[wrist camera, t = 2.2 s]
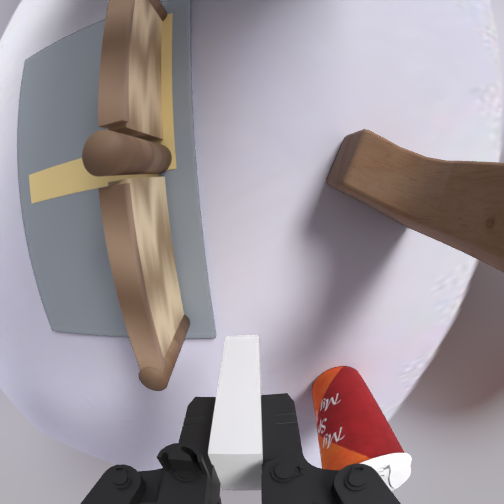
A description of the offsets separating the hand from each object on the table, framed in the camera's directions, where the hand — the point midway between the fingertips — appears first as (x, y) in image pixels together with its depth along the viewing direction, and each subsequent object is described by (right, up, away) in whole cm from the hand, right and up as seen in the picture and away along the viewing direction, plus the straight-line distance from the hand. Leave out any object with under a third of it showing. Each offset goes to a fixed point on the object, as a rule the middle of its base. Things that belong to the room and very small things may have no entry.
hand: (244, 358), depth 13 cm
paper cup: (+10, -9, +14) cm, 20 cm away
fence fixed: (-8, +19, +6) cm, 21 cm away
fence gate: (-7, +4, +9) cm, 12 cm away
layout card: (-14, +12, +8) cm, 20 cm away
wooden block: (+11, +11, +9) cm, 18 cm away
